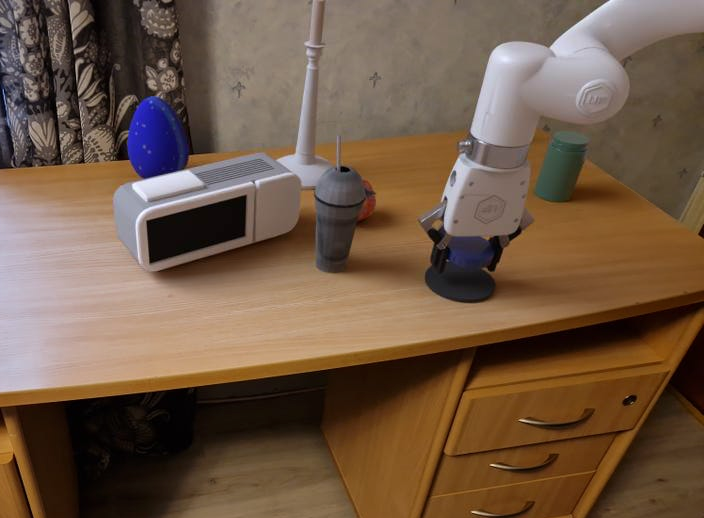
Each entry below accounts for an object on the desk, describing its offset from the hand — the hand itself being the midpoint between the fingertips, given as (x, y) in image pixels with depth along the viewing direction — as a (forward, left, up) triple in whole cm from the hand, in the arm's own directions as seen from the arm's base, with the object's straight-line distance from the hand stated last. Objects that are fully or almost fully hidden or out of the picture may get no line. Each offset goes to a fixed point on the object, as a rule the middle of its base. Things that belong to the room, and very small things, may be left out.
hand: (462, 266), depth 98 cm
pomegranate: (+12, -20, -3) cm, 23 cm away
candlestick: (+17, -37, -3) cm, 41 cm away
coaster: (0, 0, -3) cm, 3 cm away
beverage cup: (+18, -6, -3) cm, 19 cm away
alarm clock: (+36, -13, -3) cm, 38 cm away
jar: (-26, -26, -3) cm, 38 cm away
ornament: (+44, -36, -3) cm, 57 cm away
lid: (0, 0, +3) cm, 3 cm away
